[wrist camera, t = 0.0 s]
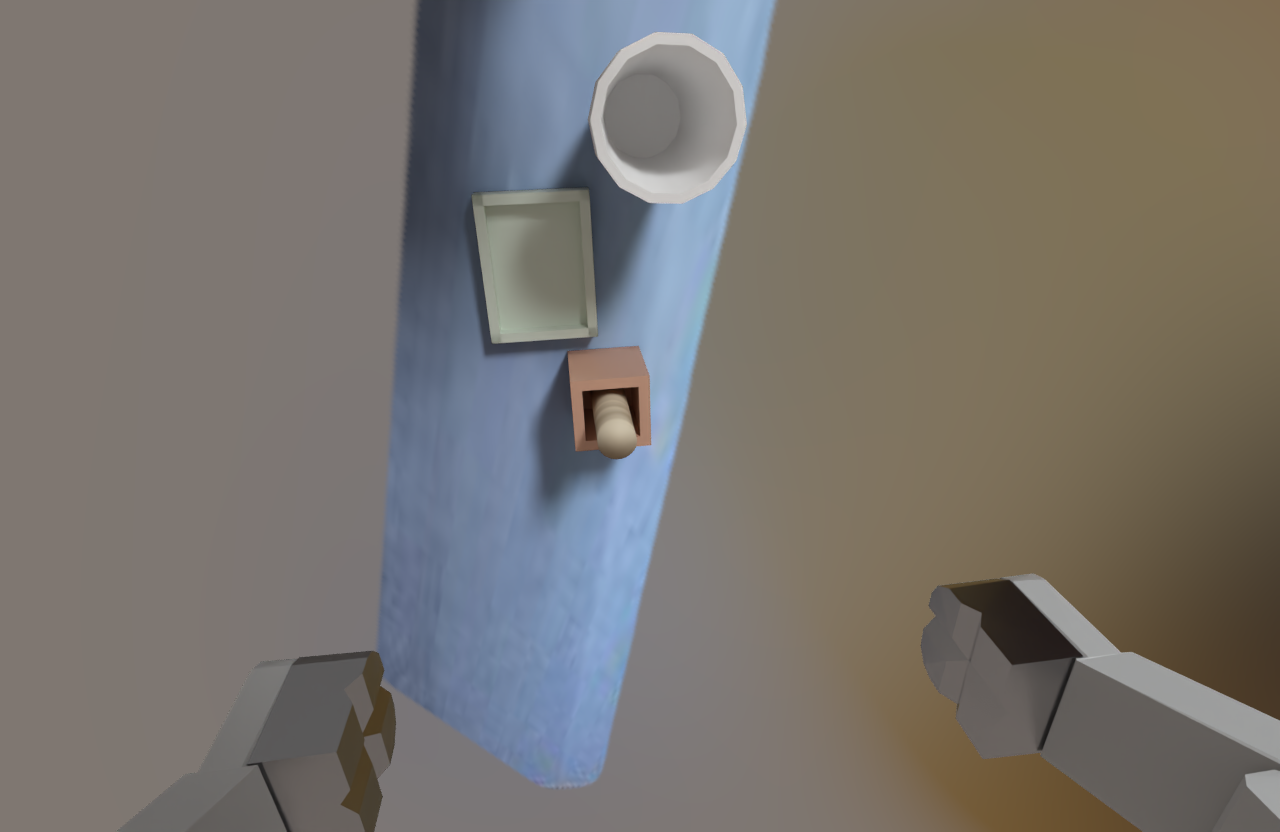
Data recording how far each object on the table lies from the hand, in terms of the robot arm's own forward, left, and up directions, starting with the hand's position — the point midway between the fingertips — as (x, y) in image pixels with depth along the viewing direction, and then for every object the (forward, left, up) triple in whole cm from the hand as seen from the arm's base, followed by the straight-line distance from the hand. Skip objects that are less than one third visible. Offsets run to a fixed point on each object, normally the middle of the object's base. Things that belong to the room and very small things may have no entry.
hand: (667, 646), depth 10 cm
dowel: (+16, +2, -47) cm, 50 cm away
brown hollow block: (+16, +2, -48) cm, 51 cm away
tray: (+5, -3, -48) cm, 48 cm away
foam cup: (-6, +6, -48) cm, 49 cm away
